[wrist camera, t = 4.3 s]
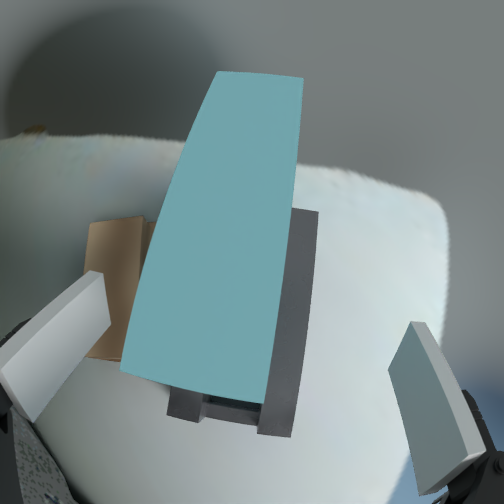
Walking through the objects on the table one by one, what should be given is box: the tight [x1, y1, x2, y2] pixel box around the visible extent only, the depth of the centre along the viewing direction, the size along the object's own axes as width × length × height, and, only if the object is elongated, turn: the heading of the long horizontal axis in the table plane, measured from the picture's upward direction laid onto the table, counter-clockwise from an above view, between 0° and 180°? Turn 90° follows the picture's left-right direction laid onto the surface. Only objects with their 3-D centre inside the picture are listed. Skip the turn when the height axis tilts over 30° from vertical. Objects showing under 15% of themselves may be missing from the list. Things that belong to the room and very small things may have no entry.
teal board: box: [119, 71, 304, 404], centre depth 14 cm, size 2×8×17 cm, turn 171°
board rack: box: [167, 208, 318, 438], centre depth 20 cm, size 8×15×4 cm, turn 171°
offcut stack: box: [83, 216, 157, 362], centre depth 21 cm, size 6×11×4 cm, turn 0°
